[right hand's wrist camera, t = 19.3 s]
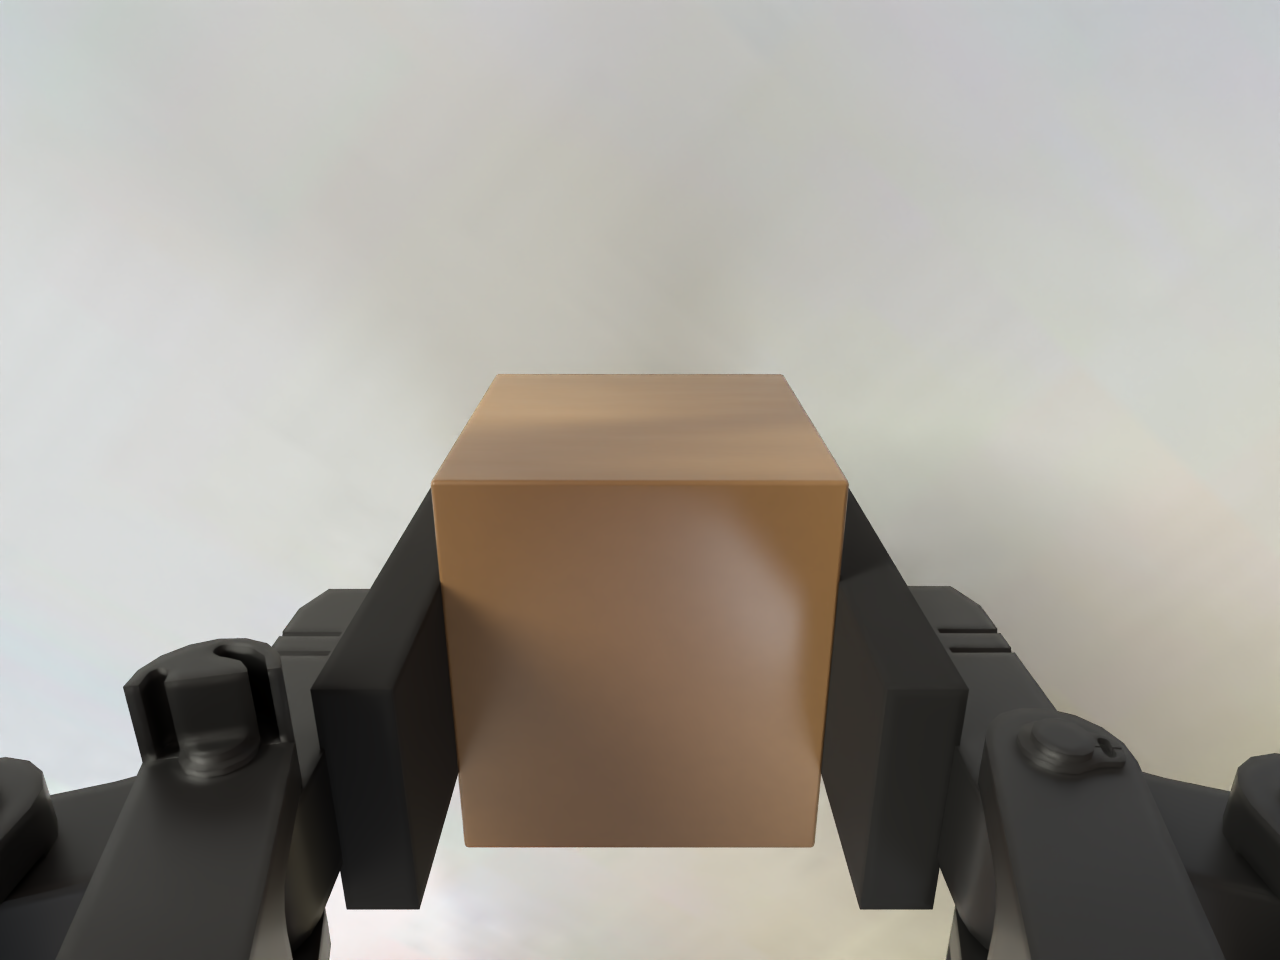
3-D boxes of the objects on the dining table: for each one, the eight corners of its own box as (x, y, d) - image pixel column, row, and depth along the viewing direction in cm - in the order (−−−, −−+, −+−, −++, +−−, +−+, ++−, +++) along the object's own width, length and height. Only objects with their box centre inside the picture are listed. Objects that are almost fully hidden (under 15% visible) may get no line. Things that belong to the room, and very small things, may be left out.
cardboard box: (783, 373, 14) (850, 481, 9) (766, 651, 16) (814, 849, 11) (496, 373, 14) (429, 480, 9) (512, 651, 16) (463, 849, 11)
